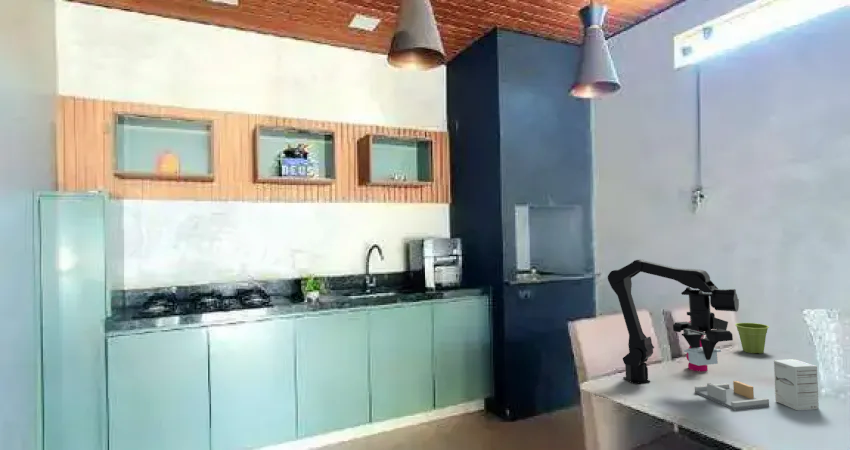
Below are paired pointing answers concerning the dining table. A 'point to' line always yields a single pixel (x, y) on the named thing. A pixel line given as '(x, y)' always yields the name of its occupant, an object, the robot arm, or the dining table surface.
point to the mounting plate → (732, 395)
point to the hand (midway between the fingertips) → (702, 358)
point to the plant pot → (752, 336)
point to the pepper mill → (696, 367)
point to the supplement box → (796, 384)
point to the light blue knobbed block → (701, 356)
